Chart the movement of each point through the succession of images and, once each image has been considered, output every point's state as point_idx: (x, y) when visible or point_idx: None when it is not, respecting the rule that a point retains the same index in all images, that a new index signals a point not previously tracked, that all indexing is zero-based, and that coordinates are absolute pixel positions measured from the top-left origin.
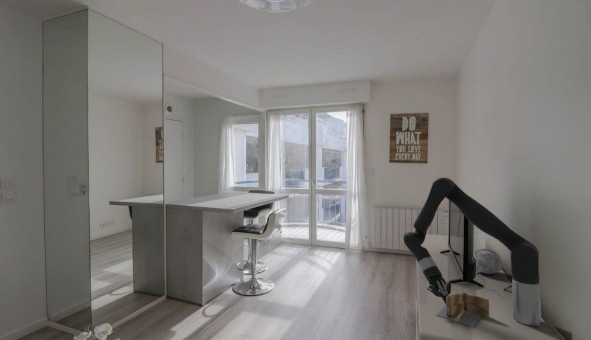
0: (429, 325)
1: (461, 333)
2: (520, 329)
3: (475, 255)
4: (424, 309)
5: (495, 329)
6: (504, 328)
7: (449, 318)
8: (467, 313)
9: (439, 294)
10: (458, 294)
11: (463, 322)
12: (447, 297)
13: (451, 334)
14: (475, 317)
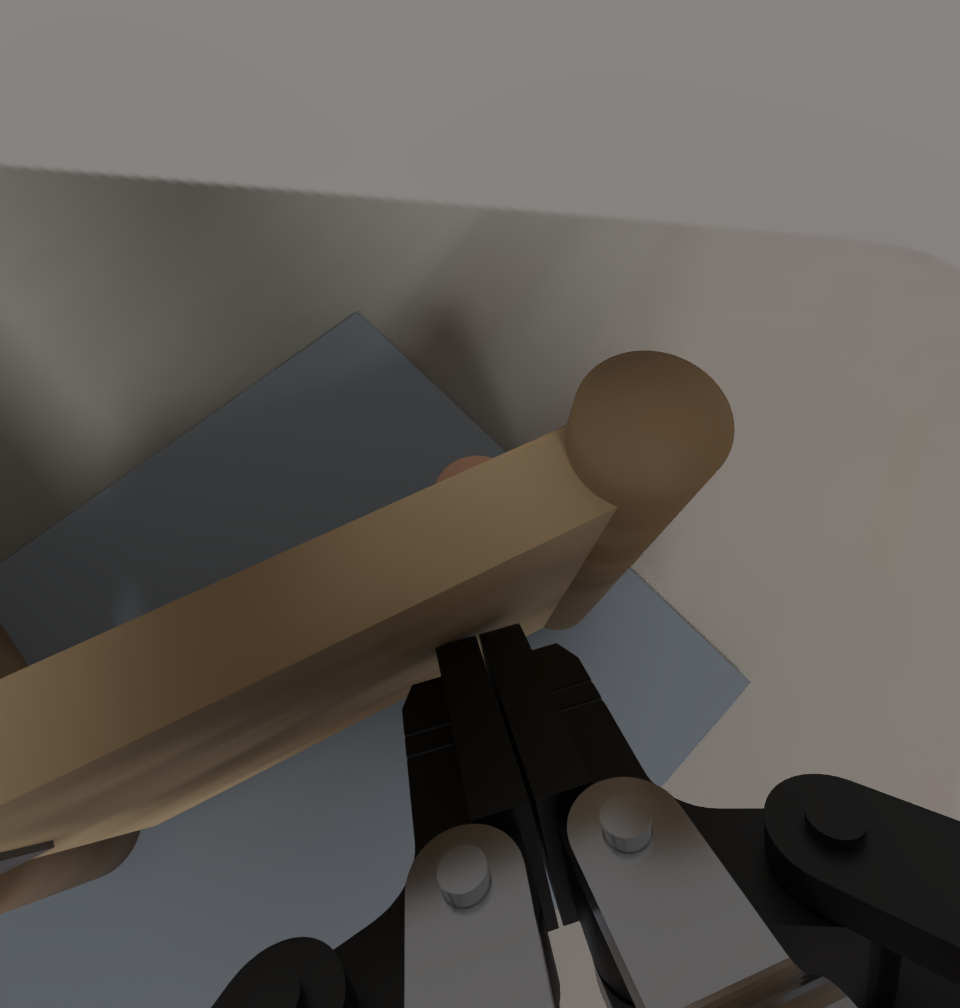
0: (935, 417)
1: (592, 232)
2: None
3: None
4: None
5: (134, 259)
6: (7, 266)
7: None
8: None
9: (875, 796)
10: (64, 676)
11: (427, 414)
12: (705, 380)
13: (718, 227)
14: (139, 522)
